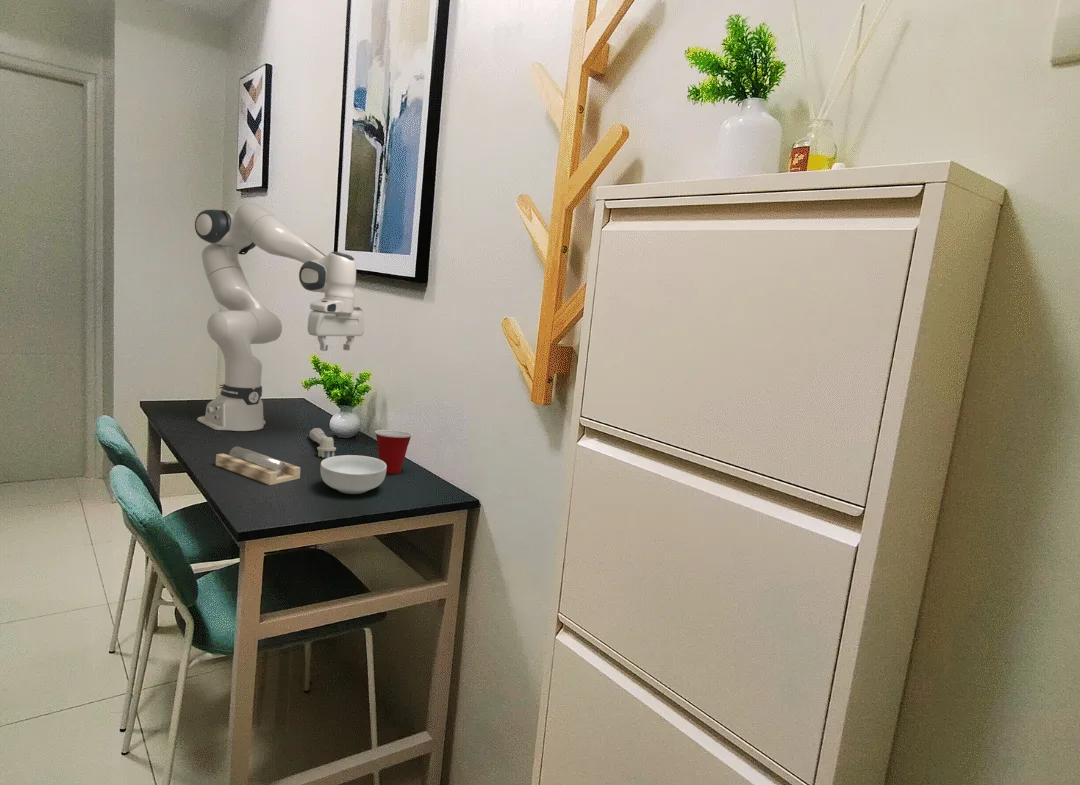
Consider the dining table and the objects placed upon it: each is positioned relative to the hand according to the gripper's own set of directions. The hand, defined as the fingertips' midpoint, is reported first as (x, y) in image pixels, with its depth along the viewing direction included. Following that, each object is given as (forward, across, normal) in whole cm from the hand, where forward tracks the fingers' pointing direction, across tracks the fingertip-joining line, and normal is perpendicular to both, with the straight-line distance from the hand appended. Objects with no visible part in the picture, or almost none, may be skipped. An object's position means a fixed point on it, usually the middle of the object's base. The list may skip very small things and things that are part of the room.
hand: (335, 350), depth 207 cm
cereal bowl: (+31, +24, +35) cm, 53 cm away
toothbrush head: (+32, +3, 0) cm, 32 cm away
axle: (+30, +33, +9) cm, 45 cm away
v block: (+31, +33, +9) cm, 46 cm away
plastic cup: (+31, +4, +30) cm, 44 cm away
